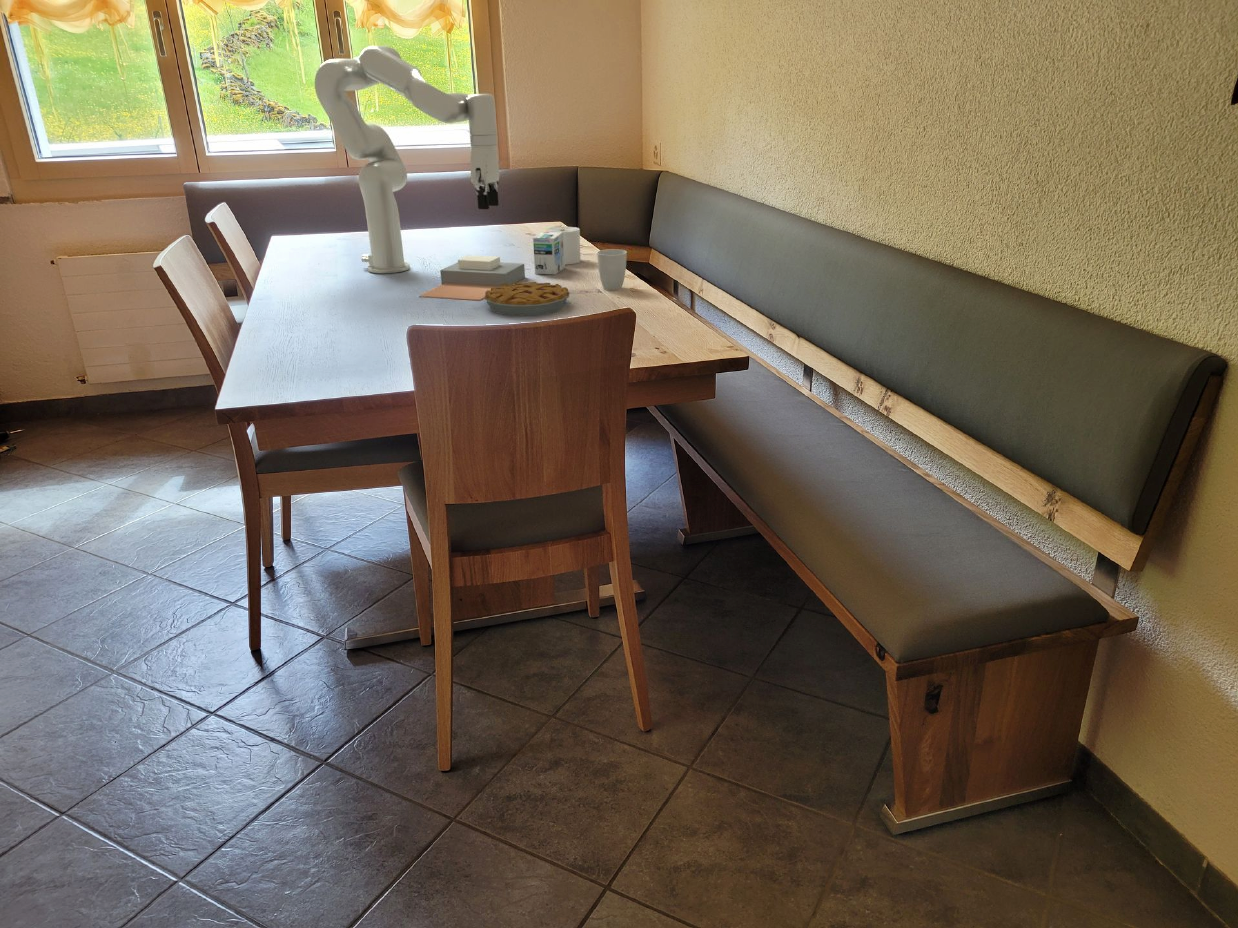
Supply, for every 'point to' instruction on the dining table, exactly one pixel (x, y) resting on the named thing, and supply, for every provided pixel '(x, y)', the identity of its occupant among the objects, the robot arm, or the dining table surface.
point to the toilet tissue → (569, 243)
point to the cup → (612, 268)
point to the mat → (458, 292)
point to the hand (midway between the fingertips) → (488, 206)
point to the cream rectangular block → (479, 262)
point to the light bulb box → (548, 253)
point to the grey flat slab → (484, 275)
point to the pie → (526, 298)
